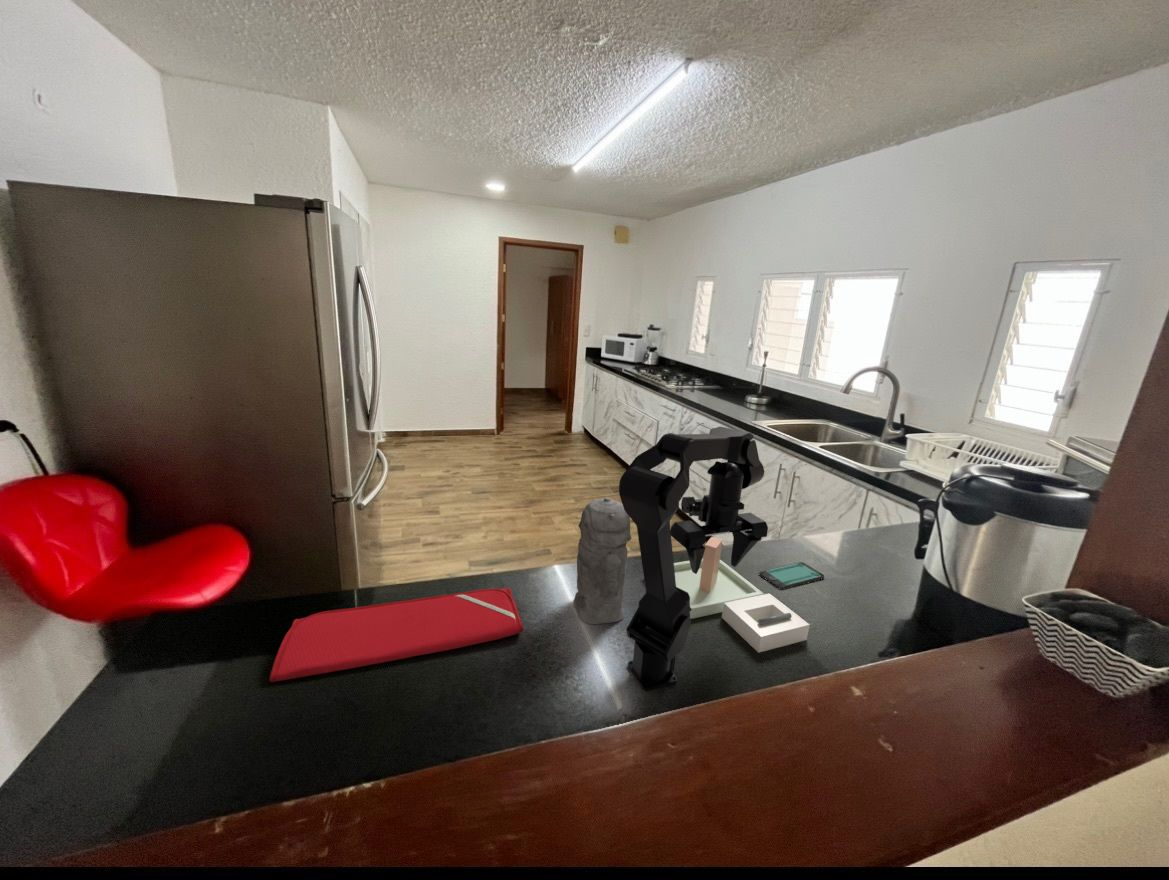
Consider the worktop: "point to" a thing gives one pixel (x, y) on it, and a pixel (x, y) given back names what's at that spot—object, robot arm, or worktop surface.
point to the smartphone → (791, 575)
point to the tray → (723, 591)
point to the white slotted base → (765, 622)
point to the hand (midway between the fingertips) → (714, 569)
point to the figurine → (602, 561)
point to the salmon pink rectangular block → (710, 564)
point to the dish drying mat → (394, 632)
